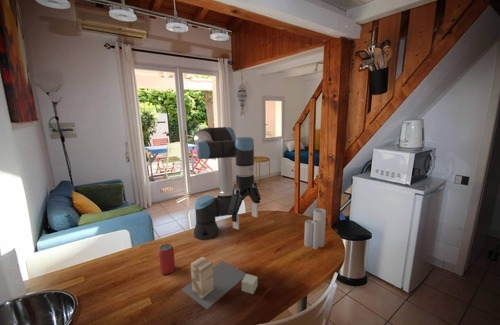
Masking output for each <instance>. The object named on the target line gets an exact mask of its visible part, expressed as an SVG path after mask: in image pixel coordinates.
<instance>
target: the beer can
mask: <svg viewBox="0 0 500 325" xmlns="http://www.w3.org/2000/svg"><path fill="white" fill-rule="evenodd" d="M158 259H159V260H158V261H159V271H160V273H161V274H162V275H169V274H172V273H173V272H174V271H175V270H176V262H175V260H176V259H175V251H174V247H173V245H172V244H170V243H165V244H162V245H160V247H159V250H158Z"/></svg>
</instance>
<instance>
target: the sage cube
mask: <svg viewBox="0 0 500 325" xmlns="http://www.w3.org/2000/svg"><path fill="white" fill-rule="evenodd" d="M258 282H259V281H258V276H256V275H252V274H249V273H246V275H245V277H244V278H243V279H242V280H241V291H242V292H244V293H249V294H252V295H254V293H255V292H256V289H257V288H258V286H259V285H258Z"/></svg>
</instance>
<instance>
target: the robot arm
mask: <svg viewBox="0 0 500 325" xmlns="http://www.w3.org/2000/svg"><path fill="white" fill-rule="evenodd" d="M193 142H194V144H195V146H196V147H195V148H196V156H197V159H199V160H210V159H211V160H213V159H217V167H218V183H219V192H218V193H217V197H215V195H213V194H206V195H202V196H200V197H198V198H197V199H196V200H195V201H194V210H195V227H194V230H193V237H194V238H195V239H198V240H201V241H207V240H211V239H214V238H216V237H217V236H218V235H219V234H220V229H219V226H218V225H217V221H216V218H217V217H218V218H219V217H225V216H226V217H227V216H231V222H232V229H234V230H235V229H236V230H240V217H239V216H240V215H239V213H238V212H240V211H239V210H240V208H241V206H242V203H243V202H244V200H245V198H247V197H249V198H250V199H251V201H252V202H251V217H254V218H258V216H259V215H258V214H259V212H258V211H259V209H258V208H259V204H260V203H261V200H262V198H261V195H260V191H259V189H258V183H257V182H256V181H255V175H254V173H255V160H254V159H255V142H254V138H253V137H251V136H243V137H242V136H240V137H236V133H235V131H234V129H233V128H232V127H230V126H229V127H228V126H227V127H226V126H221V127H205V128H202V129H199V130H198V131H196V132H195V134H194V136H193ZM233 158H235V174H236V175H235V182H236V185H237V186H238V187H237V189H235V188H234V173H233Z"/></svg>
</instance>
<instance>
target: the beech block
mask: <svg viewBox="0 0 500 325" xmlns="http://www.w3.org/2000/svg"><path fill="white" fill-rule="evenodd" d="M213 267H214V266H213V262H212V261H211V260H210V259H208V258H206V257H204V256H201V257H199V258H198V259H196V260H194V261H192V262H191V263H190V274H191V282H192V292H193V293H194V294H196V295H197V296H198V297H200V298H201V299H203V298H205V297H206V296H207V295H208V294H210V293H211V292H212V291H213V290H214V287H213Z"/></svg>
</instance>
